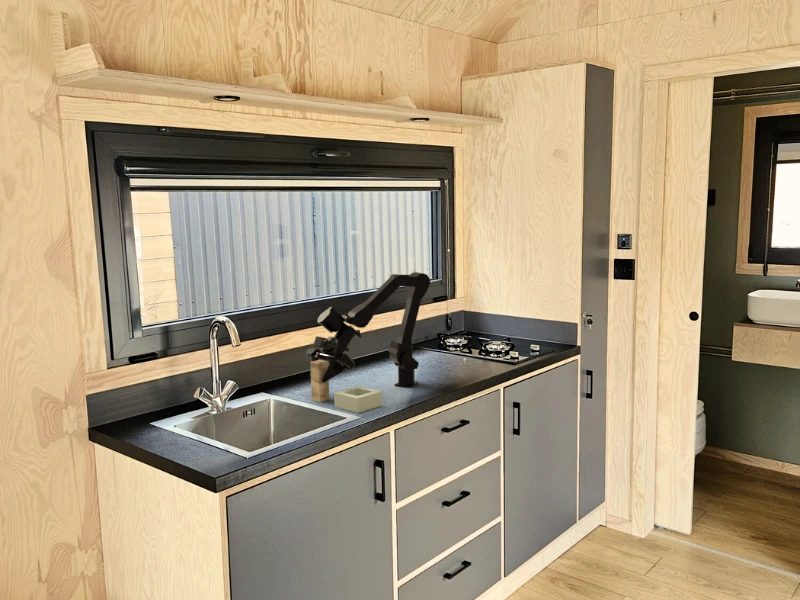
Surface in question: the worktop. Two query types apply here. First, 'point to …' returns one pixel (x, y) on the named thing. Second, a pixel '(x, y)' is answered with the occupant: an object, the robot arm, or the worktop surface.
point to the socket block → (358, 399)
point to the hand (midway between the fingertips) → (316, 380)
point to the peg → (319, 381)
